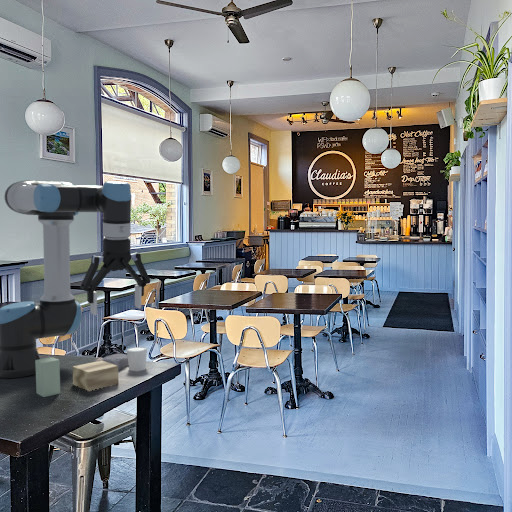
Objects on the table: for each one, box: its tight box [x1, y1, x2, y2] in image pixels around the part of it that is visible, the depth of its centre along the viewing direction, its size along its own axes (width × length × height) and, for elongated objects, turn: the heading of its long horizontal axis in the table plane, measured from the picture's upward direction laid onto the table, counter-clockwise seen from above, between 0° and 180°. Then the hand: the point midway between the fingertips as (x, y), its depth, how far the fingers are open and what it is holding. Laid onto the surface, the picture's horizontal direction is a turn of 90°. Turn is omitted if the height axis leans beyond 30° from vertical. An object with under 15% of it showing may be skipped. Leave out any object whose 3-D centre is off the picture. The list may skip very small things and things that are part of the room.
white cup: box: [126, 346, 148, 372], centre depth 186 cm, size 7×7×7 cm
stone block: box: [95, 353, 129, 371], centre depth 191 cm, size 12×5×10 cm
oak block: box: [72, 360, 120, 392], centre depth 169 cm, size 10×10×6 cm
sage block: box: [35, 356, 61, 398], centre depth 160 cm, size 5×5×10 cm
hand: (116, 310), depth 156 cm, fingers open, 13 cm apart
